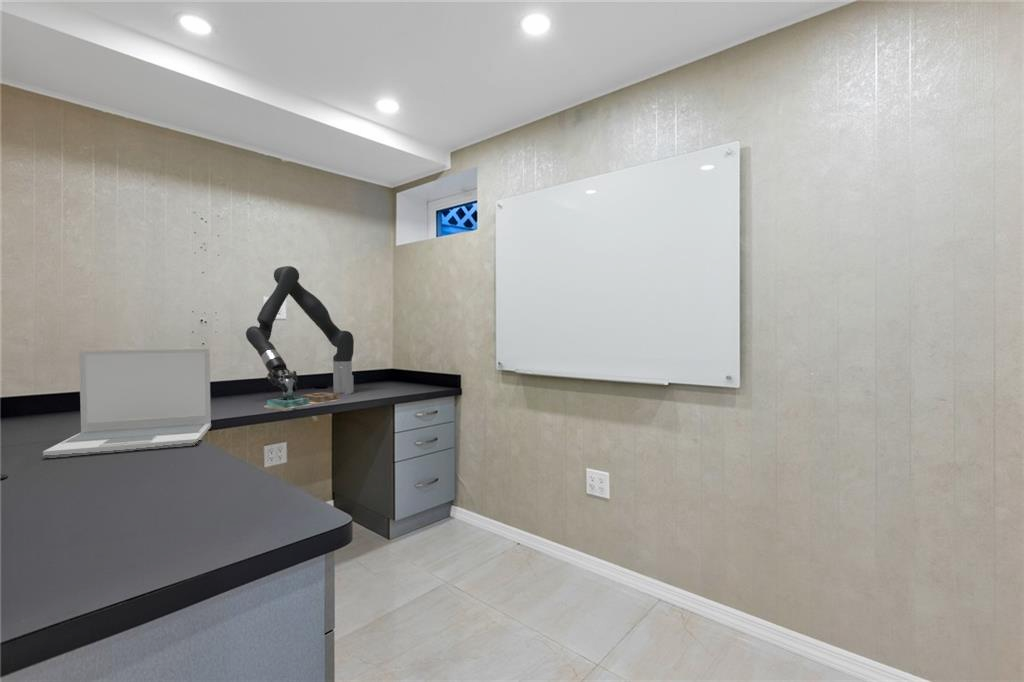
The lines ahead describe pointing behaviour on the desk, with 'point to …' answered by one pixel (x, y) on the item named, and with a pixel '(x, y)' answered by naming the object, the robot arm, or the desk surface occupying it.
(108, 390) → the laptop
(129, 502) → the desk surface
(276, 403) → the dock board
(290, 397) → the steel pin
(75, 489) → the desk surface
